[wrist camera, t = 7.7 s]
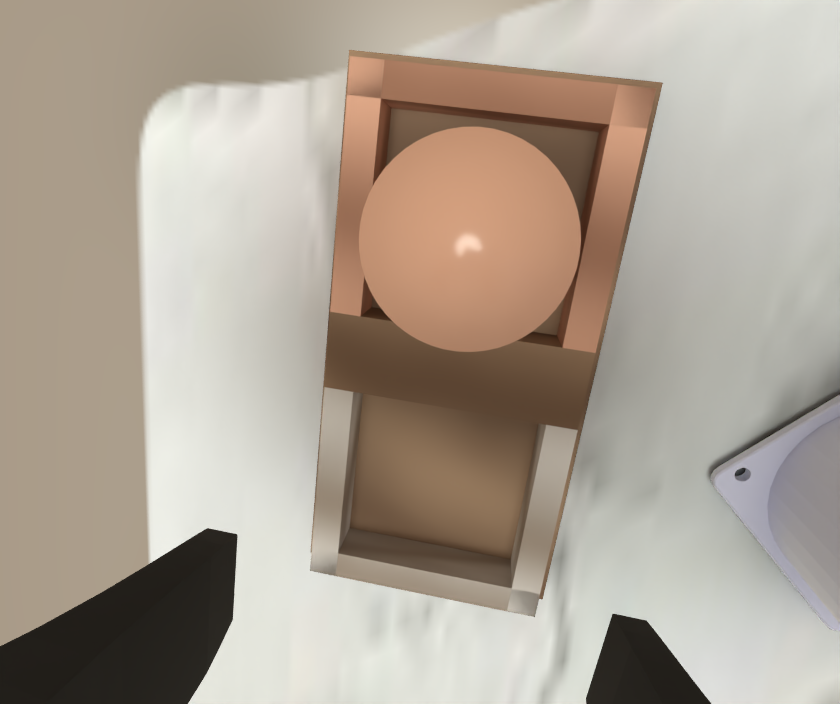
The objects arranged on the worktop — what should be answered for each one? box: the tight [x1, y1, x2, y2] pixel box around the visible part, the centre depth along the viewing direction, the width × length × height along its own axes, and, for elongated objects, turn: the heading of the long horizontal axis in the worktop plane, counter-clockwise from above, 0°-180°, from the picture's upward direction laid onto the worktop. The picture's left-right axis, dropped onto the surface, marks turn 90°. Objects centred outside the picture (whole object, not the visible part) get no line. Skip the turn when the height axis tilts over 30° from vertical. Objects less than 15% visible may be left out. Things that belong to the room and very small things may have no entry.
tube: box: [359, 127, 581, 352], centre depth 14 cm, size 4×4×7 cm
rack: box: [310, 50, 663, 617], centre depth 18 cm, size 18×9×2 cm, turn 173°
